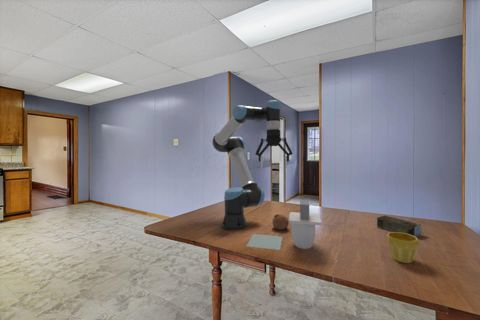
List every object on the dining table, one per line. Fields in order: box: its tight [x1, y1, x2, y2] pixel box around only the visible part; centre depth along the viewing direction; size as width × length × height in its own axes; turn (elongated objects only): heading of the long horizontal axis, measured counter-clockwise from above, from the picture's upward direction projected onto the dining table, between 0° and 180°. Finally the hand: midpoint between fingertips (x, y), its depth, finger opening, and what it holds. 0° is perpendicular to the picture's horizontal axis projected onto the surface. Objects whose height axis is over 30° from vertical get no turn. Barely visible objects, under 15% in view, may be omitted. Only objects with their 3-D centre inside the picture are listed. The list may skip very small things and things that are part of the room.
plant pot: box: [387, 231, 419, 264], centre depth 91 cm, size 10×10×10 cm
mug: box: [290, 223, 316, 250], centre depth 106 cm, size 15×11×13 cm
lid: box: [288, 199, 322, 226], centre depth 105 cm, size 14×14×8 cm
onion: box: [272, 213, 290, 231], centre depth 128 cm, size 10×9×10 cm
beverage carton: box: [376, 215, 422, 238], centre depth 123 cm, size 8×19×7 cm, turn 30°
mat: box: [246, 233, 283, 251], centre depth 111 cm, size 16×16×1 cm
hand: (273, 167), depth 122 cm, fingers open, 13 cm apart
